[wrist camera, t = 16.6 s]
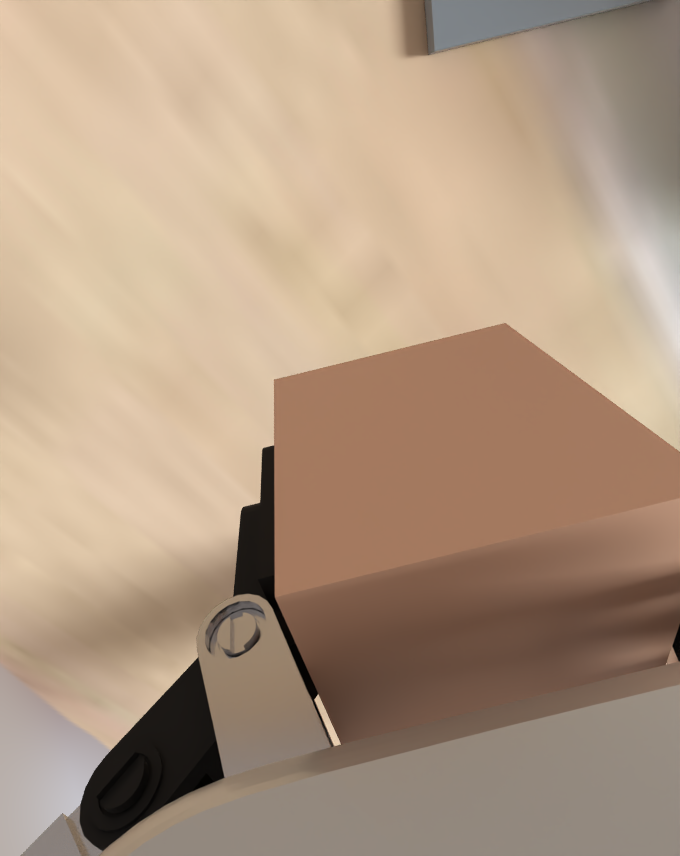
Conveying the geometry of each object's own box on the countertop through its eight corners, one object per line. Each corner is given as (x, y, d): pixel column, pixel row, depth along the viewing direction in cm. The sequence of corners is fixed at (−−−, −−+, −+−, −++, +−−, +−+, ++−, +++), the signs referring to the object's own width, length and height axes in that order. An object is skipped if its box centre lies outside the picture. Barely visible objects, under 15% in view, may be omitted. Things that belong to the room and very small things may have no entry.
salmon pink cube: (506, 498, 13) (649, 711, 8) (325, 542, 13) (358, 782, 8) (505, 323, 10) (726, 487, 5) (274, 379, 10) (274, 596, 5)
